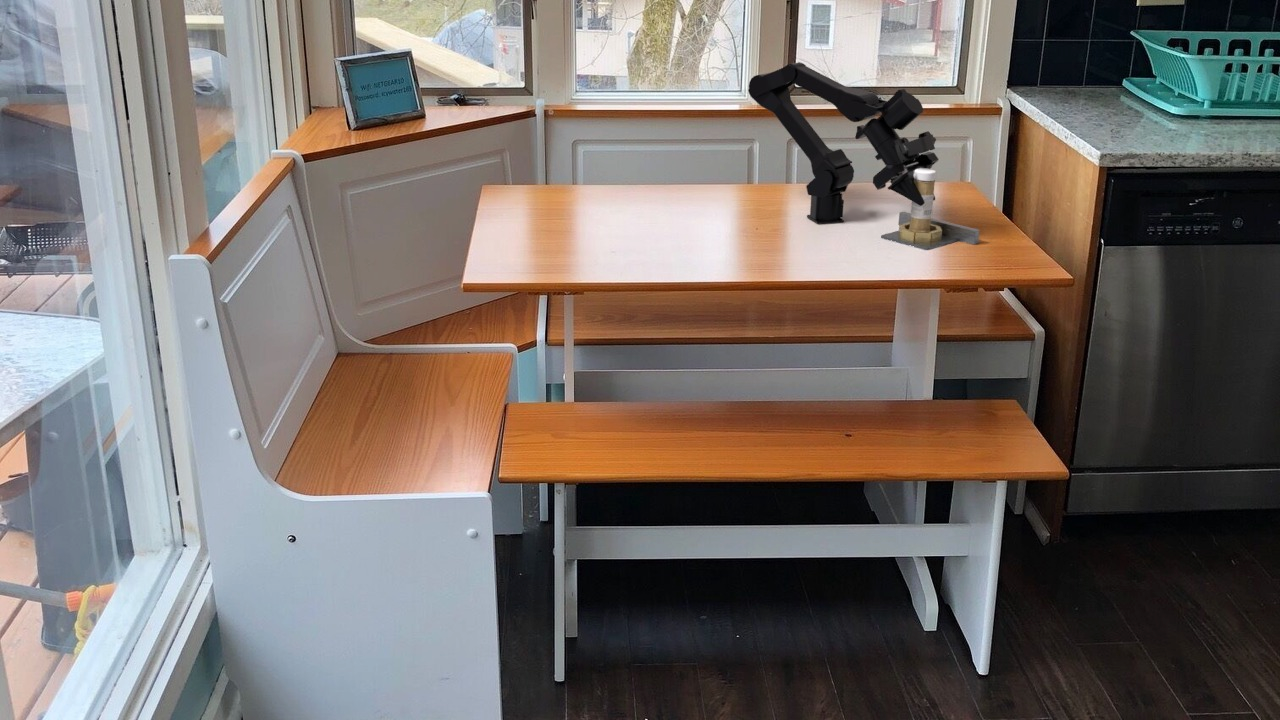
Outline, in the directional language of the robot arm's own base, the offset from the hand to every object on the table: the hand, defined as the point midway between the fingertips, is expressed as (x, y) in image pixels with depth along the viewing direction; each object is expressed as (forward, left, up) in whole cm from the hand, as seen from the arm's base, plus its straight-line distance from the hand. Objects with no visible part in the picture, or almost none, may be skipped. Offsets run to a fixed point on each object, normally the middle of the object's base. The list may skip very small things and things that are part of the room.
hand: (928, 202), depth 256 cm
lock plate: (-1, +1, -8) cm, 8 cm away
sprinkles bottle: (-1, +1, -7) cm, 7 cm away
